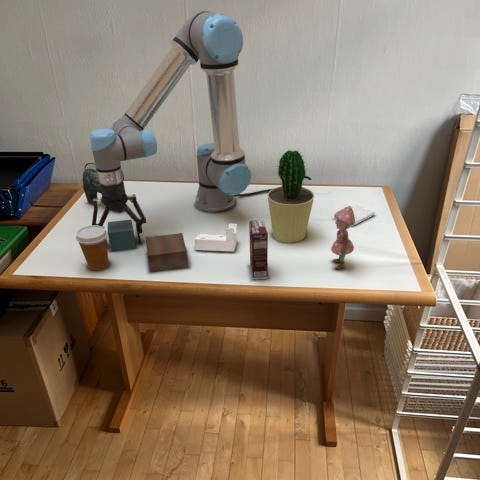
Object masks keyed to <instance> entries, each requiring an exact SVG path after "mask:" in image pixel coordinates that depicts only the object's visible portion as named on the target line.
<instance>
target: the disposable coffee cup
mask: <svg viewBox="0 0 480 480" xmlns="http://www.w3.org/2000/svg"><path fill="white" fill-rule="evenodd" d="M103 227H104V226H103ZM103 227H102V226H97V225H92V224H91V225H87V226H84V227H80V229H78V230H77V231H76V236H75V240H76V242H77V243H78V244H79V248H80V249H81V252H82V254H83V257H84V259H85V261H86V264H87V266H88V269H90V270H91V271H101V270H105V269H106V268H107V267H108V266H109V265H110V263H109V254H108V252H109V251H108V248H107V242H108V230H106V229H104V228H105V227H104V228H103Z"/></svg>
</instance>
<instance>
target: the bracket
mask: <svg viewBox="0 0 480 480" xmlns="http://www.w3.org/2000/svg"><path fill="white" fill-rule="evenodd" d="M237 244H238V224H237V223H228V227H226V228H225V234H207V233H206V234H205V233H204V234H203V233H199V234H198V235H196V237H195V238H194V250H196V251H213V252H215V251H216V252H232V253H233V252H235V250H236V246H237Z"/></svg>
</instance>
